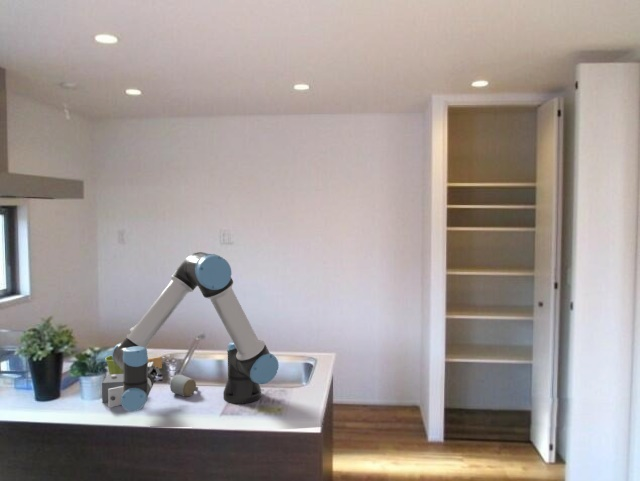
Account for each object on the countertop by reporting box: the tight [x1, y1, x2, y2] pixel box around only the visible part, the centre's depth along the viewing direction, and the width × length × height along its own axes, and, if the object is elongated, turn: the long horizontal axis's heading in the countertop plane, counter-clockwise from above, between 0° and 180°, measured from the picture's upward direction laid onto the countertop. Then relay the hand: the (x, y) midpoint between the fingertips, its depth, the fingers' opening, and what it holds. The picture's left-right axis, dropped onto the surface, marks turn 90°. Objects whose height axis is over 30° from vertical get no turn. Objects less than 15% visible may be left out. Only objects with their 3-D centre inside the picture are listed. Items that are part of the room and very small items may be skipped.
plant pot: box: [105, 354, 123, 375], centre depth 227 cm, size 9×9×9 cm
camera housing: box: [101, 373, 124, 404], centre depth 202 cm, size 14×10×9 cm
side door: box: [108, 356, 163, 408], centre depth 196 cm, size 20×2×16 cm, turn 127°
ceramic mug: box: [169, 374, 199, 397], centre depth 207 cm, size 11×8×8 cm
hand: (151, 364), depth 198 cm, fingers closed
